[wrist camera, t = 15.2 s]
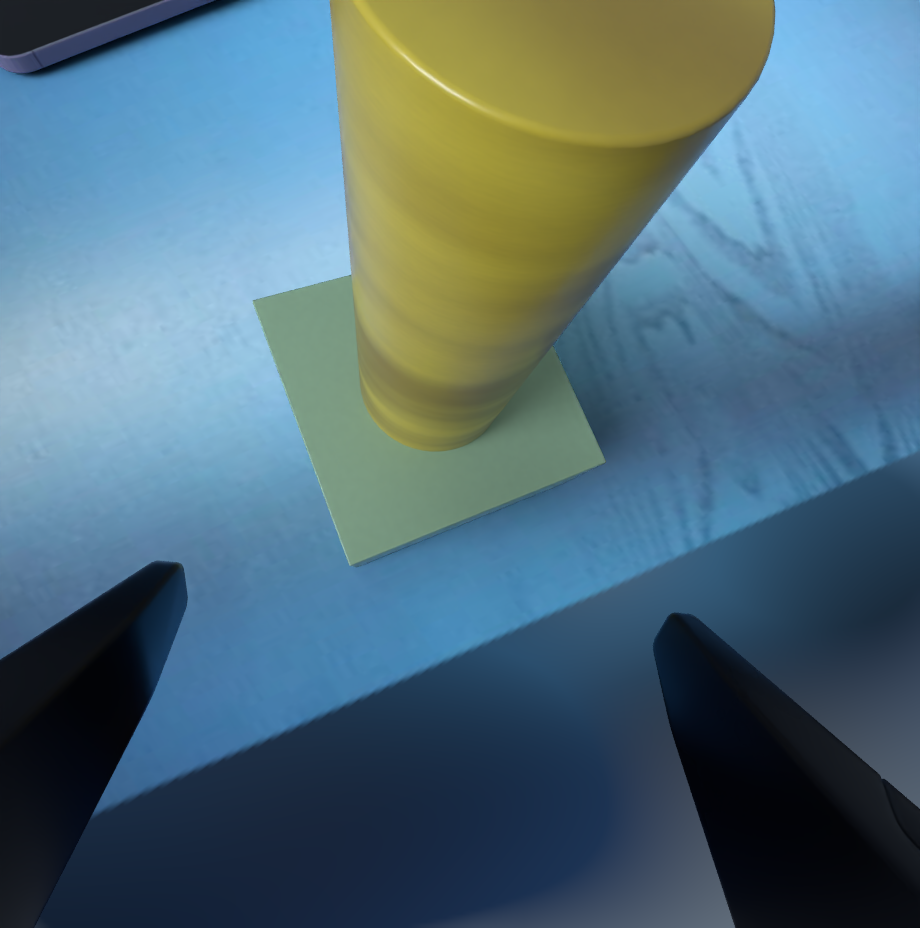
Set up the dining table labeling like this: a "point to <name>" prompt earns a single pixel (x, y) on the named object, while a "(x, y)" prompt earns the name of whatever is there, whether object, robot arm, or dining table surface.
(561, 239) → the yellow tumbler
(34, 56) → the smartphone
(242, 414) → the dining table surface
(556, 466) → the green block
